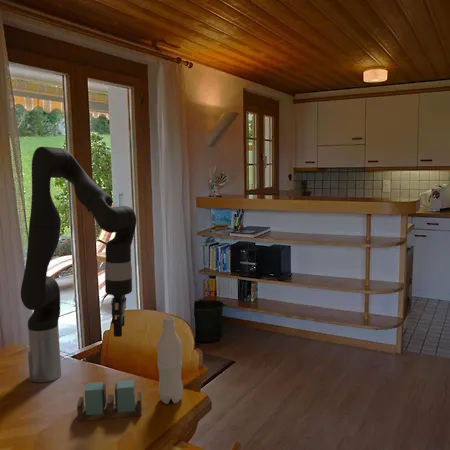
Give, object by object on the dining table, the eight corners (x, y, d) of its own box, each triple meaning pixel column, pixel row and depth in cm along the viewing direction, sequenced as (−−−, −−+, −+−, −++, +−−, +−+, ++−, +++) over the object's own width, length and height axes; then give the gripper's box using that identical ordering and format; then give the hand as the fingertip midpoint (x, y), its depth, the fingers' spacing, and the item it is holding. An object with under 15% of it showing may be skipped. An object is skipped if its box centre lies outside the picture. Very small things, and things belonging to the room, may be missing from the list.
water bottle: (179, 407, 136) (176, 323, 133) (155, 404, 137) (152, 321, 134) (186, 395, 143) (184, 315, 139) (163, 393, 144) (160, 313, 141)
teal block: (134, 402, 135) (133, 379, 134) (134, 410, 131) (133, 386, 130) (116, 404, 135) (115, 381, 134) (115, 412, 130) (114, 388, 129)
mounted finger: (85, 415, 129) (84, 390, 128) (88, 406, 133) (86, 383, 133) (105, 413, 130) (103, 389, 129) (106, 405, 134) (105, 381, 133)
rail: (77, 421, 129) (77, 405, 128) (80, 412, 134) (79, 397, 133) (141, 415, 131) (140, 400, 131) (141, 406, 136) (141, 391, 136)
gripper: (130, 282, 128) (130, 339, 131) (133, 270, 142) (134, 322, 145) (101, 282, 128) (102, 340, 130) (108, 270, 142) (108, 323, 144)
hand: (119, 330), depth 137 cm, fingers open, 8 cm apart
